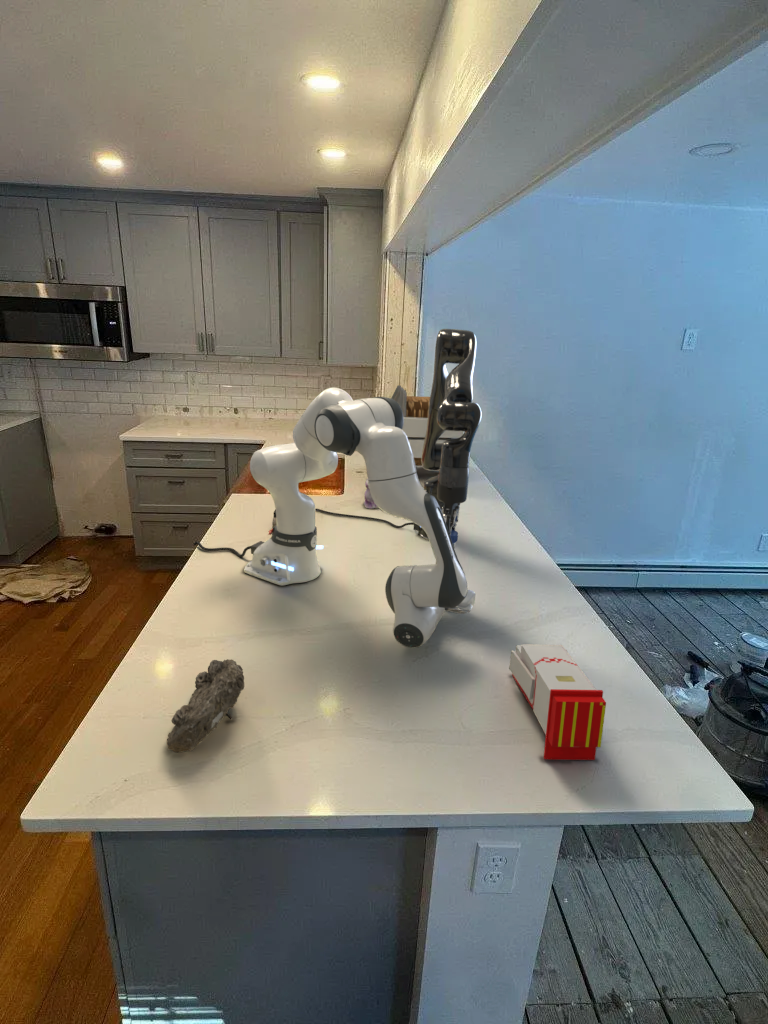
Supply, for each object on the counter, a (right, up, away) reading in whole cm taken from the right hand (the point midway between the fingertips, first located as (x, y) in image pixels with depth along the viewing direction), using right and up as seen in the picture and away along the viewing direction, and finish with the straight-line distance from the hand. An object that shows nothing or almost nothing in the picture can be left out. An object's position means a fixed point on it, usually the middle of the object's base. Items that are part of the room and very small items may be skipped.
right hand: (447, 543), depth 148 cm
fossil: (-49, -31, -40) cm, 70 cm away
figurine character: (-52, +3, +54) cm, 75 cm away
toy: (+16, -32, -34) cm, 49 cm away
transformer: (+1, +27, +127) cm, 130 cm away
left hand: (-1, -10, +5) cm, 12 cm away
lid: (0, +3, -1) cm, 3 cm away
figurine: (-21, +11, +79) cm, 83 cm away
